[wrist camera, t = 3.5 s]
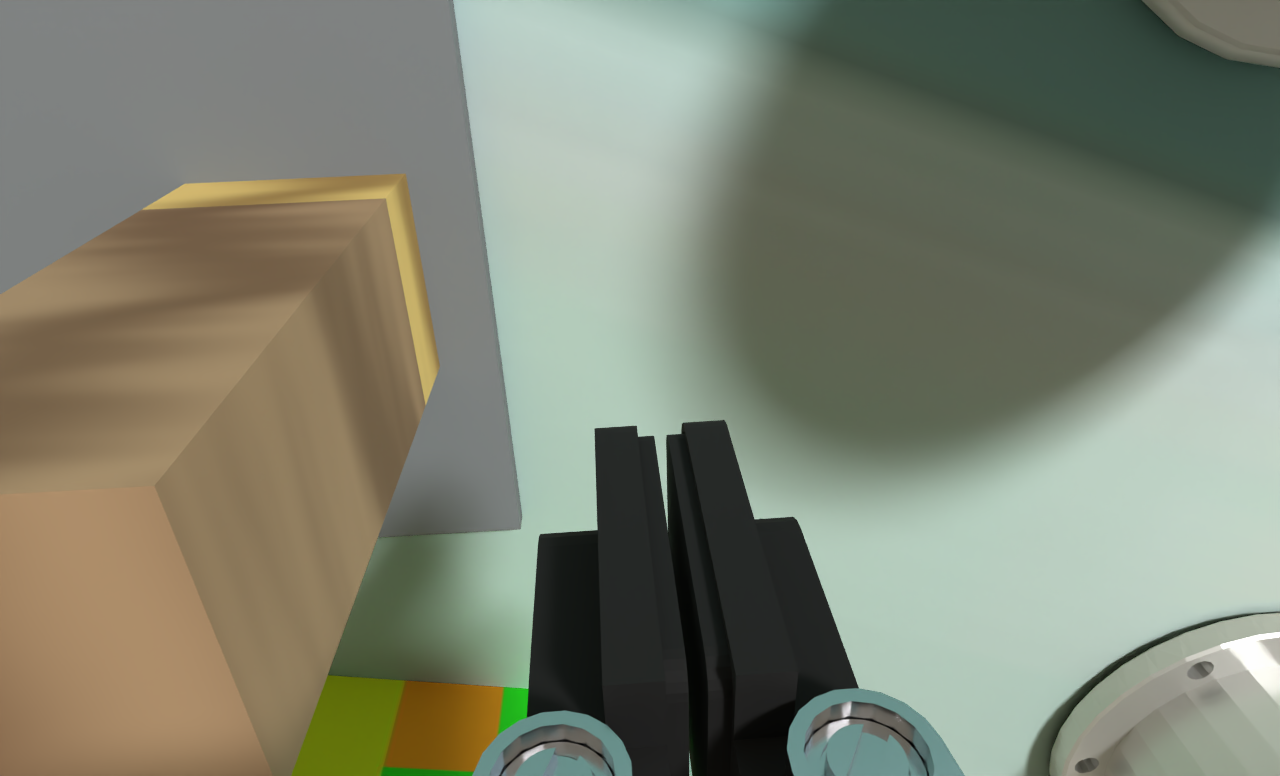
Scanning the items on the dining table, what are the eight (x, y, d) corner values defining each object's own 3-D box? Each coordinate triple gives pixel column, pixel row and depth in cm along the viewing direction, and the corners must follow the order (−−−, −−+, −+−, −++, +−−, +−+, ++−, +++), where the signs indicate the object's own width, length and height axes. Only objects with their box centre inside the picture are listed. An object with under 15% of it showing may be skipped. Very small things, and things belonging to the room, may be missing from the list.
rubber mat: (437, -110, 16) (433, -112, 16) (522, 516, 24) (520, 529, 24) (-587, -72, 16) (-627, -72, 15) (-160, 554, 24) (-177, 569, 23)
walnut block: (405, 173, 18) (154, 485, 8) (440, 366, 21) (282, 798, 10) (184, 183, 18) (-367, 514, 8) (245, 376, 21) (-112, 824, 10)
